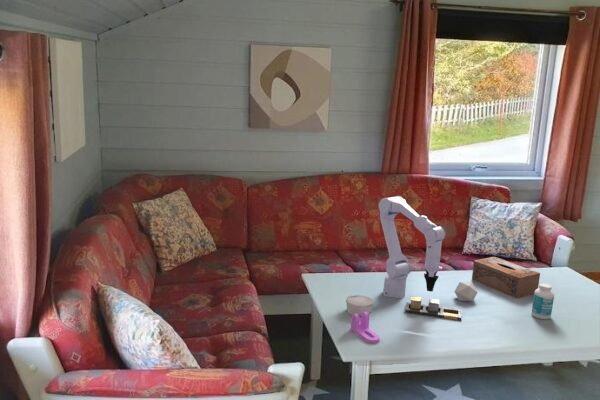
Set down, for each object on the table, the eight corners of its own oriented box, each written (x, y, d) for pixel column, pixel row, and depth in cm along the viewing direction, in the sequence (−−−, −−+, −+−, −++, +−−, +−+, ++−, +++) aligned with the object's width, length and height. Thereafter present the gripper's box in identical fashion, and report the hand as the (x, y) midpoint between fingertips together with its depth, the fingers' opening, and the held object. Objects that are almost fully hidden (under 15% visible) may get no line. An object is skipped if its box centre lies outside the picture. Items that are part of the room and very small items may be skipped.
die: (472, 308, 233) (484, 288, 234) (454, 296, 233) (466, 276, 235) (465, 307, 241) (477, 287, 243) (448, 295, 242) (459, 276, 243)
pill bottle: (542, 321, 221) (546, 289, 218) (527, 314, 227) (531, 283, 224) (554, 318, 224) (559, 287, 221) (539, 311, 231) (544, 281, 228)
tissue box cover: (537, 293, 251) (540, 273, 249) (516, 299, 244) (519, 277, 241) (492, 275, 272) (494, 256, 270) (471, 280, 265) (473, 260, 263)
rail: (404, 314, 222) (404, 309, 222) (406, 306, 230) (406, 302, 229) (460, 322, 217) (461, 317, 216) (460, 314, 224) (461, 309, 224)
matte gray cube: (427, 313, 222) (428, 302, 221) (428, 309, 225) (429, 298, 224) (437, 315, 221) (439, 303, 220) (438, 311, 224) (439, 299, 223)
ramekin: (357, 304, 231) (357, 292, 230) (378, 312, 223) (379, 300, 222) (339, 311, 223) (340, 299, 222) (360, 320, 215) (361, 307, 214)
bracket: (350, 329, 207) (351, 312, 206) (363, 327, 210) (364, 310, 208) (369, 344, 196) (370, 326, 194) (382, 342, 198) (383, 324, 197)
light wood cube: (410, 311, 223) (411, 299, 222) (410, 307, 227) (411, 296, 226) (420, 312, 222) (421, 301, 221) (420, 308, 226) (421, 297, 225)
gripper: (443, 262, 214) (439, 295, 217) (443, 252, 228) (440, 282, 231) (424, 260, 216) (421, 293, 219) (425, 250, 230) (422, 280, 233)
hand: (429, 287), depth 225 cm, fingers open, 7 cm apart
